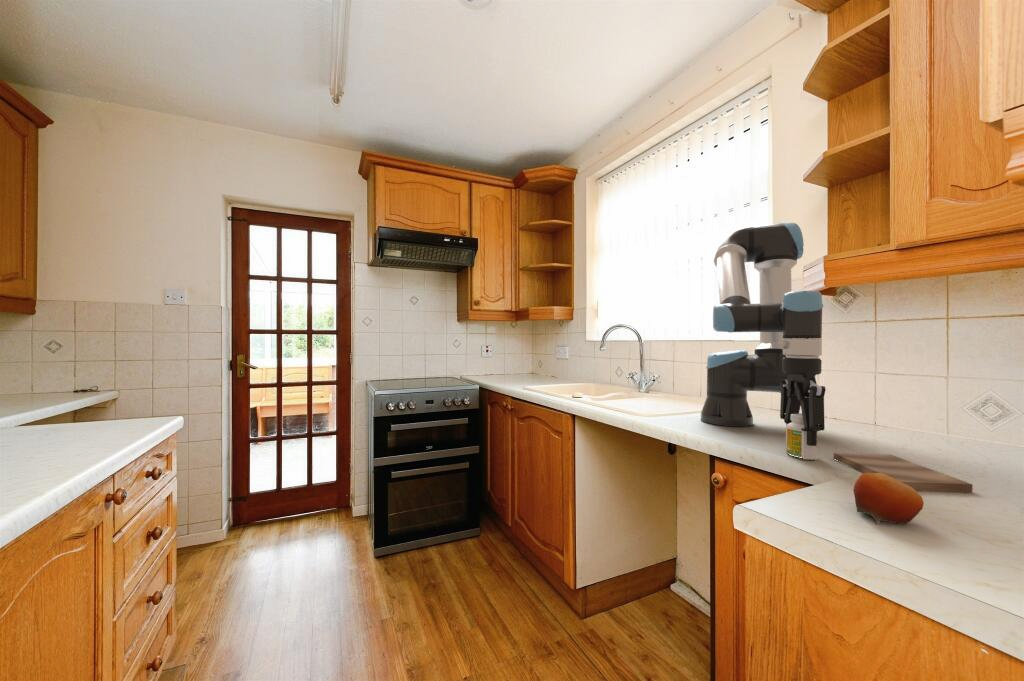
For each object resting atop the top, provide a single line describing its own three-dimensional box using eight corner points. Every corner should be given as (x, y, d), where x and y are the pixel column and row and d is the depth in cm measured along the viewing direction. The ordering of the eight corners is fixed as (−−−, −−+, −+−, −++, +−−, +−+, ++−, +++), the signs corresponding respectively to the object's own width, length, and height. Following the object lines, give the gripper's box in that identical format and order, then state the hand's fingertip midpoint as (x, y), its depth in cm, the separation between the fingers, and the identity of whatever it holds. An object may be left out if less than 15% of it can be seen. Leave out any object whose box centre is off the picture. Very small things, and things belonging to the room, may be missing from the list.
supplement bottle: (788, 457, 94) (788, 416, 94) (785, 451, 99) (785, 412, 99) (816, 461, 91) (817, 418, 91) (812, 454, 96) (812, 414, 96)
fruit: (828, 499, 67) (852, 458, 67) (866, 523, 67) (890, 481, 67) (875, 522, 59) (902, 475, 59) (918, 548, 59) (945, 501, 59)
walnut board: (833, 459, 92) (833, 453, 92) (890, 461, 91) (890, 454, 91) (899, 489, 75) (899, 481, 75) (972, 492, 73) (972, 484, 73)
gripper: (764, 354, 104) (763, 443, 105) (809, 359, 86) (807, 467, 86) (795, 354, 104) (794, 444, 104) (847, 359, 85) (845, 468, 85)
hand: (800, 454), depth 95 cm, fingers open, 6 cm apart
